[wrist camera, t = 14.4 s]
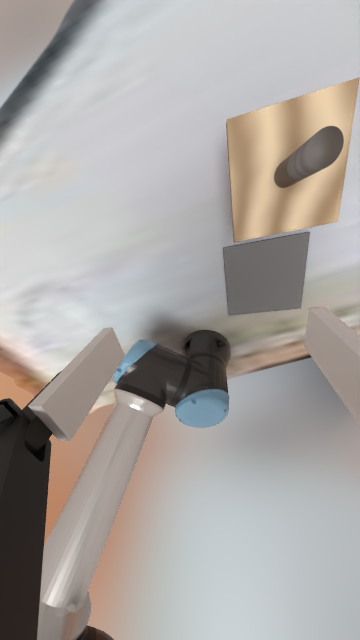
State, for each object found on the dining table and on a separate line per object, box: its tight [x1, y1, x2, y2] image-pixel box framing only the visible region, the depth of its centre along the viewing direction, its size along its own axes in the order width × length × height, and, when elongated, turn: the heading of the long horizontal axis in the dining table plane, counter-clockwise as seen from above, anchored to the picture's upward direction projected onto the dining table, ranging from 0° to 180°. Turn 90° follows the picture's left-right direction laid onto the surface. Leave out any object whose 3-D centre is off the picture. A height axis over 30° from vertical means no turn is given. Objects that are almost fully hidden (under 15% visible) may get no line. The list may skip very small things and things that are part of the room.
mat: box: [223, 232, 310, 315], centre depth 45 cm, size 18×18×1 cm
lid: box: [226, 78, 359, 242], centre depth 22 cm, size 15×15×10 cm
